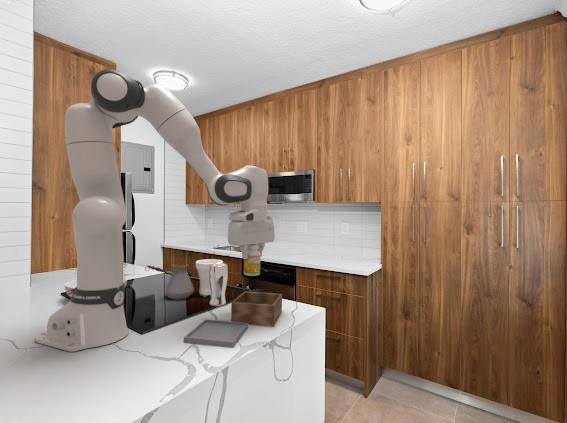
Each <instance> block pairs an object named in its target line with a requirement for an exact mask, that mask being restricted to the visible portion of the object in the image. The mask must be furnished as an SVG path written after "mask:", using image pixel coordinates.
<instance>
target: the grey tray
mask: <svg viewBox="0 0 567 423" xmlns="http://www.w3.org/2000/svg"><path fill="white" fill-rule="evenodd" d="M248 329H249V325H248V323H241V322H231V320H230V321H229V320H220V319H218V320H217V319H208V318H205V319H203V321H202V322H200V323H199V324H198V325H197V326H196V327H194V328H193V329H192V330H191V331H190V332H188V333H187V334H185V335H184V336H183V343H184V344H186V343H189V344H196V345H204V346H211V347H215V346H216V347H224V348H231V349H232V348H235V346H236V344H237V343H238V342H239V341H240V339H241V338H242V337H243V335H244V334H245V332H246V331H247V330H248Z"/></svg>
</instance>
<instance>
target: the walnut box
mask: <svg viewBox="0 0 567 423" xmlns="http://www.w3.org/2000/svg"><path fill="white" fill-rule="evenodd" d="M230 304H231V305H230V322H241V323H248V326H260V327H261V326H262V327H271V328H272V327H273V328H274V327H275V326H276V323H277V322H278V320H279V318H280V316H281V314H282V313H283V294H282V293H275V292H274V293H272V292H261V291H260V292H259V291H257V292H256V291H249V290H248V291H246V290H245V291H243V292H242V293H240V295H238V296H237V297H236V298H234V299H233V301H231V303H230Z"/></svg>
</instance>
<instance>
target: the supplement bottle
mask: <svg viewBox="0 0 567 423" xmlns="http://www.w3.org/2000/svg"><path fill="white" fill-rule="evenodd" d="M246 249H247V253H249V258H248V259H243V275H244V276H249V277H255V276H256V277H257V276H260V274H261V258H262V256H261V253H260V252H259V251H258V249H259V245H258V244H249V245H248V248H246Z"/></svg>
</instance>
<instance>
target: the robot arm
mask: <svg viewBox="0 0 567 423" xmlns="http://www.w3.org/2000/svg"><path fill="white" fill-rule="evenodd" d="M90 94H91V97H92V100H90V101H88V102H86V103H84V102H80V103H75V104H72V105H70V106H69V107H68V108H66V110H65V113H64V114H65V115H64V116H65V117H64V139H65V144H66V145H65V146H66V152H67V157H68V164H69V168H70V176H71V178H72V181H73V182H74V186H75V189H76V192H77V195H78V199H79V202H78V203H77V204H76V205H75V207H74V208H73V211H72V214H71V220H72V226H73V235H74V244H75V251H76V260H77V261H76V262H77V263H76V279H77V287H76V288H75V289H72V290H68V291H71V292H70V293H68V294H67V293H66V294H67V296H69V294H72V293H73V294H72V297H70V300H69V301H68V302H67V303H66V304H64V305H63V306H62V307H61V308H59V309H57V310H56V311H55V312H54V313H52V314H51V315H50V316H49V318H48V319H47V320H48V321H47V324H46V330H45V331H42V332H41V333H39V334H38V335H36V337H35V339H34V342H35V343H37V344H41V345H44V346H49V347H52V348H57V349H60V350H64V351H66V352H70V353H72V352H77V351H81V350H85V349H88V348H89V349H90V348H96V347H102V346H106V345H109V344H113V343H115V342H116V343H117V342H118V341H120V340H122V339H123V338H125V337H126V336H128V334H129V328H128V326H127V322H126V316H125V307H124V301H125V293H126V286H125V284H124V283H123V277H124V263H125V262H124V261H125V260H124V259H125V258H124V257H125V255H124V245H123V242H124V240H123V238H124V237H123V226H124V225H125V223H126V221H127V216H128V215H127V209H126V208H127V207H126V204H125V197H124V193H123V188H122V183H121V180H120V174H119V170H118V162H117V157H116V151H115V144H114V137H113V129H116V128H119V127H122V126H126V125H130V124H131V123H133V122H135V121H136V120H137V119H138V117H141V118H142V119H145V120H146V121H147V122H148V123H149V124H150V125H151V126H152V127H153V128H154V130H155V131H156V132H157V133H158V135H159V136H161V138H162V139H163V140H164V141H165V142H166V143H167V144H168V145H169V147H171V148H172V149H173V150H175V151H176V152H177V154H179V155H180V156H181V157H182V158H183V159H184V160H185V161H186V162H187V163H188V165H190V166H191V168H192V169H193V170H194V172H195V173H196V174H197V175H198V177H199V178H200V179H201V180H202V181H203V183H204V185H205V187H206V191H207V195H208V197H209V199H210V200H211V201H212V203H213V204H215V205H217V206H222V207H224V206H229V205H233V204H236V203H240V209H237V210H236V211H233V212H230V213H229V214H228V219H229V221H230V222H229V223H228V227H227V243H228V245H230V246H234V247H235V246H236V247H238V246H239V249H240V252H241V259H243V260H244V259H248V258H249V253H247V248H248V245H249V244H257V245H259V249H258V251H259V252H260V253H261V257H262V256H263V251H264V249H265V246H266V244H265V243H273V242H274V241H275V238H276V237H275V236H276V235H275V224H274V220H273V218H272V217H271V216H270V215H268V209H269V208H268V201H267V199H268V195H269V178H268V177H269V176H268V173H267V170H266V169H264V168H263V167H261V166H258V165H253V164H246V165H245V166H243V167H242V168H240V169H239V168H238V169H237V170H235V171H232V172H228V173H224V174H223V173H221V172H220V171H219V170H218V168H217V167H216V166H215V164H214V163H213V162H212V160H211V159H210V158H209V156H208V155H207V153H206V152H205V150H204V147H203V144H202V143H203V142H202V139H201V138H202V137H201V129H200V127H199V126H198V123H197V121H196V120H195V119H194V117H193V115H192V114H191V112H189V110H188V109H187V107H186V106H185V105H184V103H182V102H181V101H180V99H178V97H177V96H176V95H175V94H173V92H171V90H169V89H168V88H167V87H166V86H165V85H163V84H160V83H152V84H148V85H147V86H145V87H144V86H143V84H142V82H140V81H139V80H138V79H137V80H136V79H135V78H133V77H131V76H129V75H127V74H125V73H123V72H122V71H119V70H116V69H111V68H110V69H107V68H106V69H102V70H100V71H98V72H97V73H96V74H94V76H93V78H92V80H91V83H90ZM68 291H67V292H68Z"/></svg>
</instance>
